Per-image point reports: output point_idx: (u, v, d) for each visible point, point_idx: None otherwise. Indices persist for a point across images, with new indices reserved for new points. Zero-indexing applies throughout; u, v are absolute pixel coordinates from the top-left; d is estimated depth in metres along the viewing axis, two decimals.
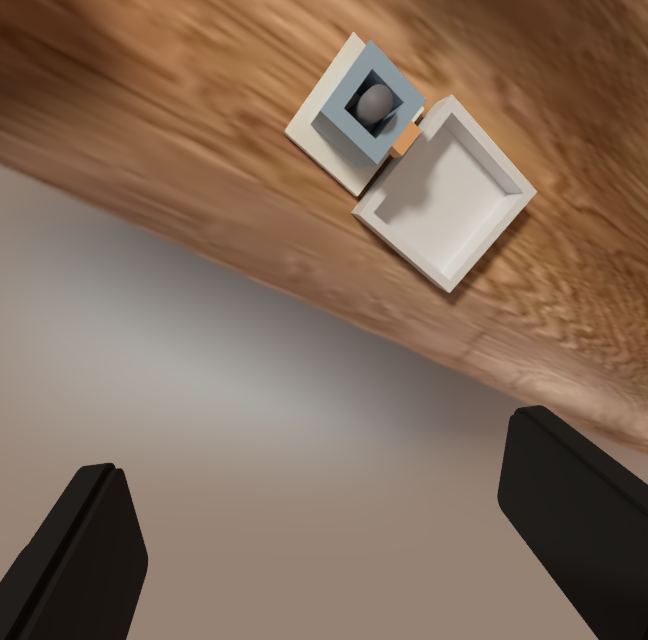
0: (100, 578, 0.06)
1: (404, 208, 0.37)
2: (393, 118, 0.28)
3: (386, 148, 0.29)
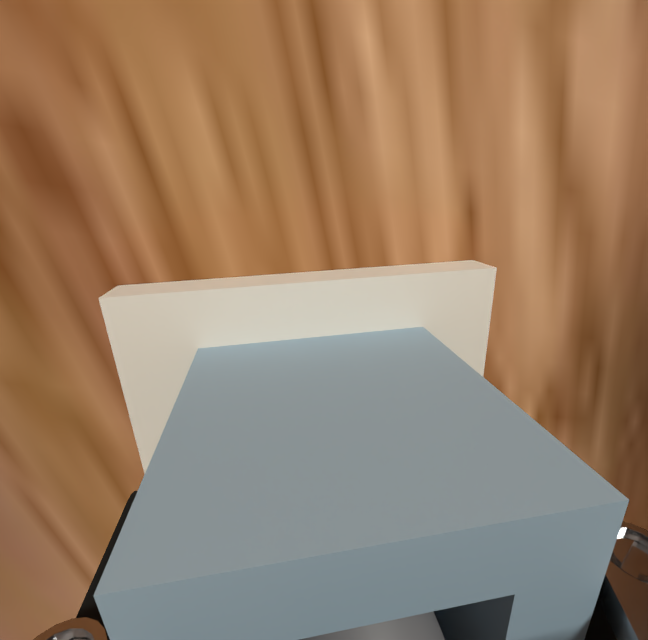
0: None
1: None
2: None
3: None
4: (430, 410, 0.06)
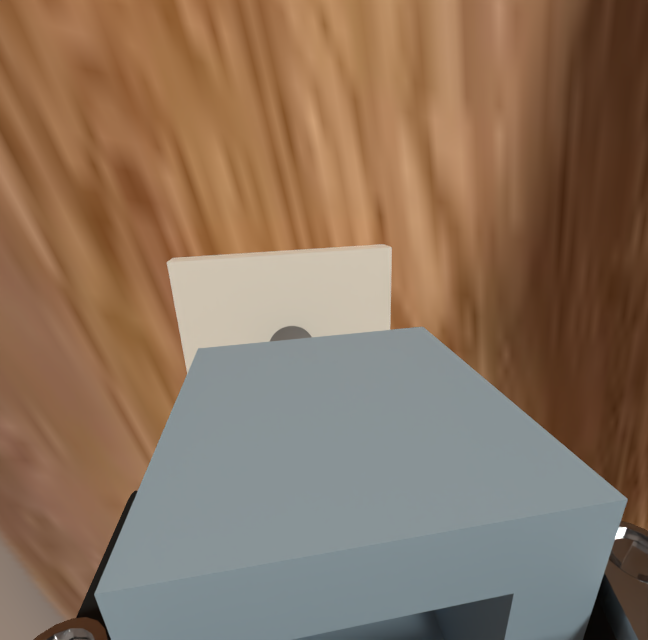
0: None
1: None
2: None
3: None
4: (429, 410, 0.06)
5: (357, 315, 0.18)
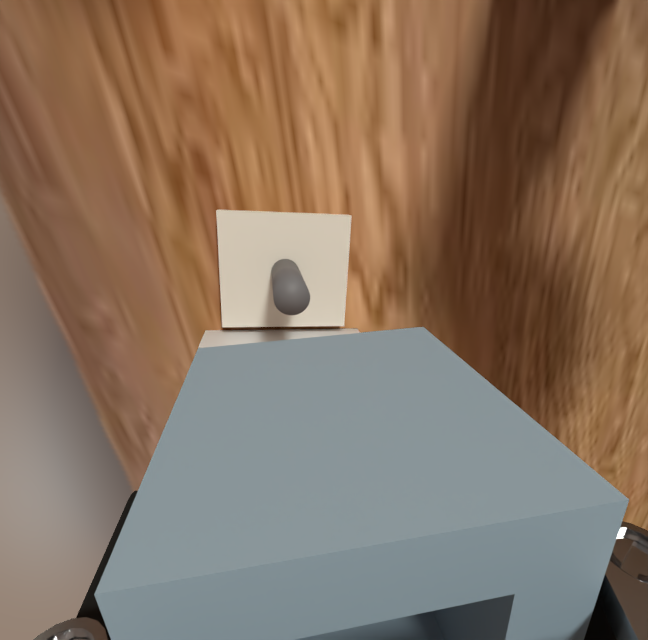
0: None
1: None
2: None
3: None
4: (430, 410, 0.06)
5: (327, 256, 0.28)
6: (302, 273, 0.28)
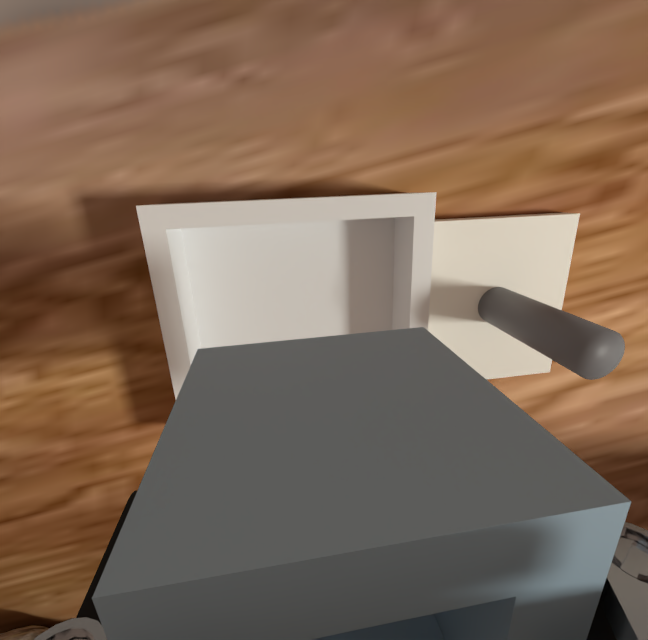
0: None
1: (340, 268, 0.20)
2: None
3: None
4: (431, 411, 0.06)
5: (508, 353, 0.23)
6: (492, 326, 0.22)
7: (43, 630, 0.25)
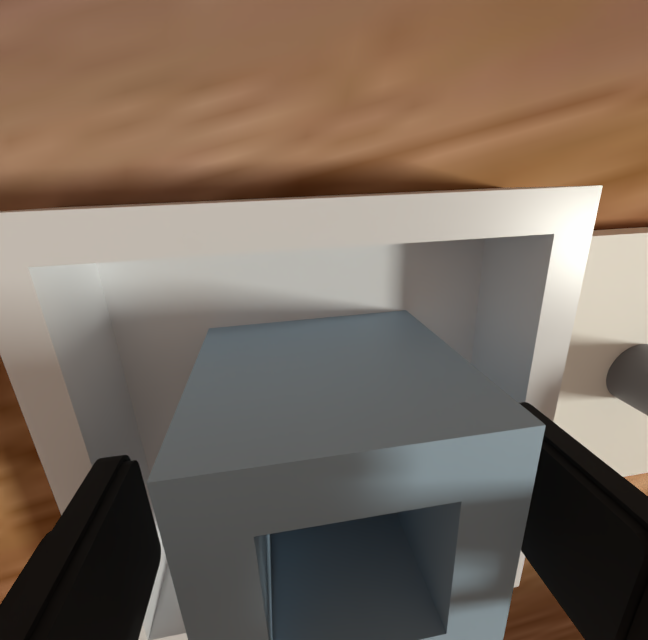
0: (119, 565, 0.07)
1: None
2: None
3: None
4: (403, 370, 0.08)
5: (641, 442, 0.14)
6: (623, 403, 0.14)
7: None
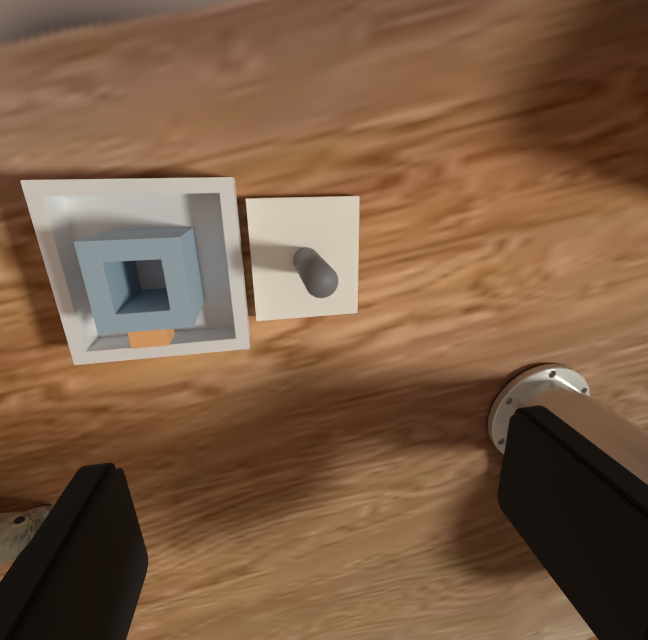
0: (100, 578, 0.06)
1: None
2: (148, 313, 0.24)
3: (119, 330, 0.24)
4: (162, 233, 0.24)
5: (322, 297, 0.31)
6: None
7: None
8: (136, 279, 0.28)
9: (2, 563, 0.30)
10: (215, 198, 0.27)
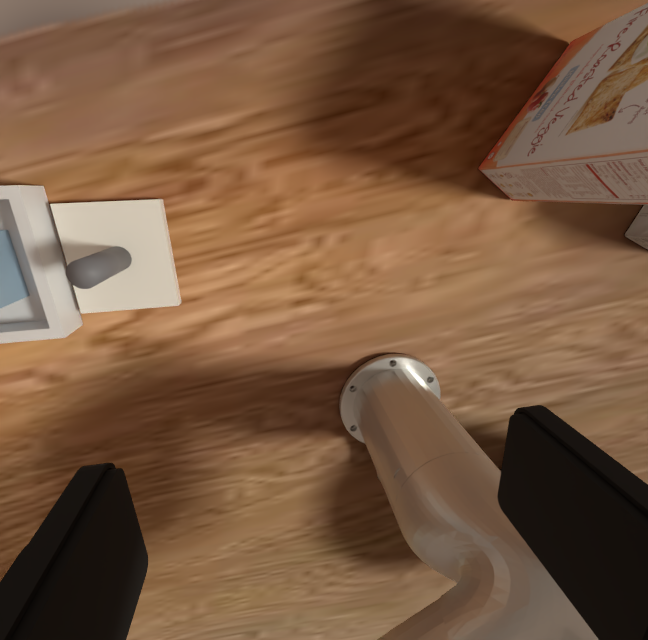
0: (100, 578, 0.06)
1: None
2: None
3: None
4: None
5: (141, 291, 0.35)
6: (121, 272, 0.34)
7: None
8: None
9: None
10: None
